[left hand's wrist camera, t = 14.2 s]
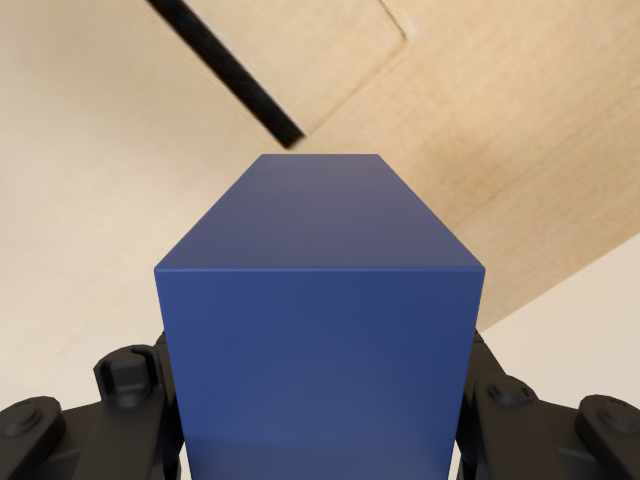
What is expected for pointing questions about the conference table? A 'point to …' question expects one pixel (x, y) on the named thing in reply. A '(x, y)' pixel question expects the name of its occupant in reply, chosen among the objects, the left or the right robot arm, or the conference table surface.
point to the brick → (319, 326)
